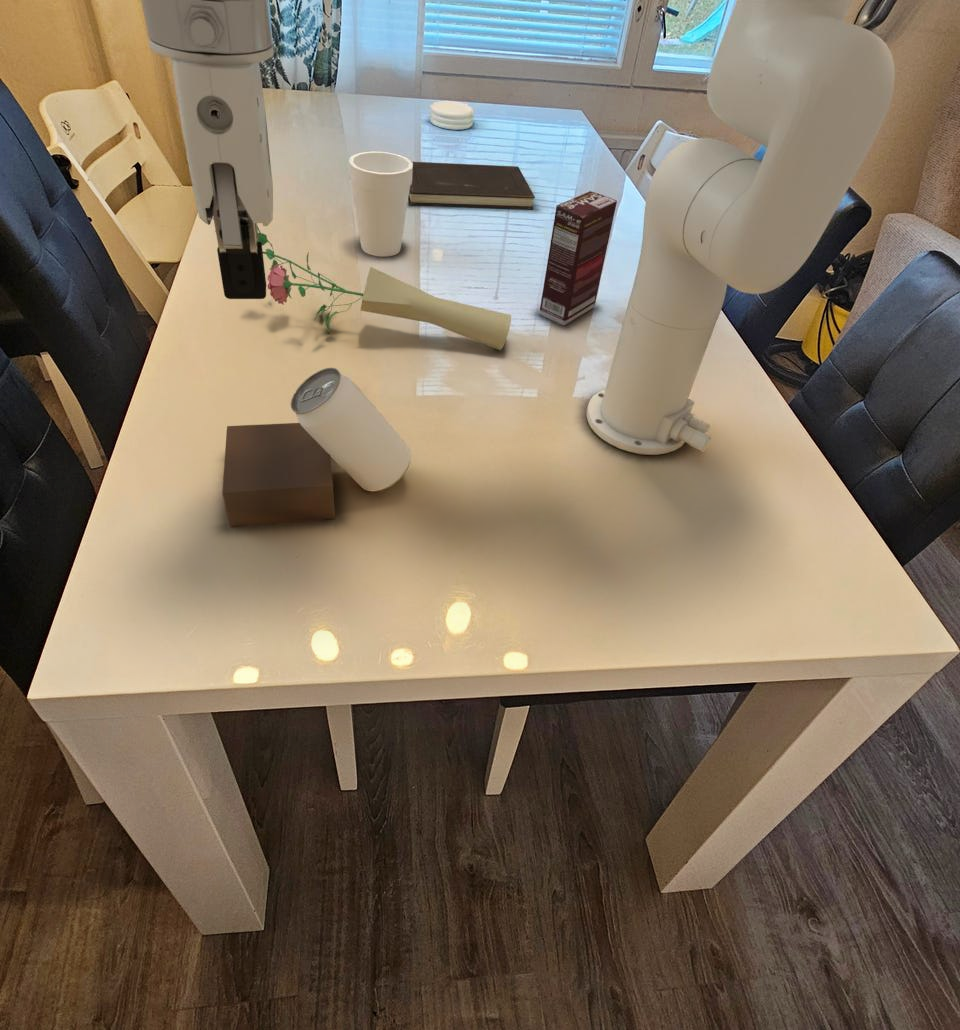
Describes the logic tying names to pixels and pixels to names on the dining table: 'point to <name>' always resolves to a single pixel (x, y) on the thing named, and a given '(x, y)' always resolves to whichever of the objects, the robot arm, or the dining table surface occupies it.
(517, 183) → the hardcover book
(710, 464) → the dining table surface
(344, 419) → the can
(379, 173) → the foam cup
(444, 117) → the white stacked discs
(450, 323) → the flower vase
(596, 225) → the supplement box
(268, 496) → the walnut block
